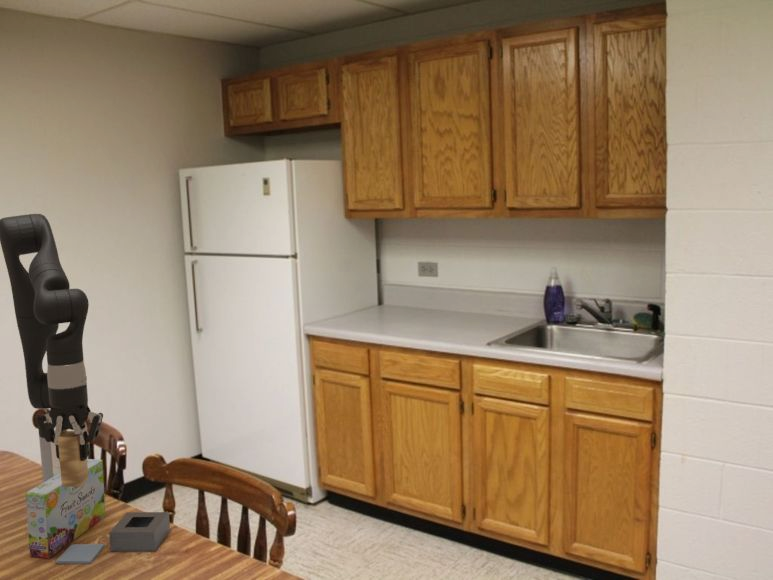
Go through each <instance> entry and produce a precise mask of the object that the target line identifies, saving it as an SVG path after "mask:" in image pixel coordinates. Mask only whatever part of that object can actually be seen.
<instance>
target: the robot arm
mask: <svg viewBox="0 0 773 580" xmlns="http://www.w3.org/2000/svg"><path fill="white" fill-rule="evenodd" d="M0 246H1V251H2V253H3V254H2V255H3V259H4V262H5V265H6V270H7V273H8V278H9V282H10V288H11V294H12V300H13V307H14V313H15V319H16V324H17V325H16V326H17V329H18V334H19V339H20V342H21V348H22V353H23V359H24V367H25V376H26V387H27V395H28V400H29V403H30V405H31V406H32V408H33V409H35V410H36V409H37V410H38V409H39V410H45V409H49V411H48V412H47V413H46V412H45V413H42V414H40V415H39V416H37V417H36V422H37V424H38V437H39V450H40V459H41V460H40V461H41V462H40V463H41V474H42V483H43V482H45V481H47V480H49V479H50V478H52V477H54V474H53V464H52V463H53V462H52V452H51V450H52V449H51V442H52V443H54V444H55V446H56V456H57V458H58V459H59V461H60V458H59V446H58V437H59V436H62V434H63V433H66V432H67V430H68V429H71V430H74V432H75V435H77V436H78V440H79V443H80V445H79V451H80V461H85V460H86V459H88V457H90V454H91V453H90V452H91V451H90V443H91V442H93V441H95V439H97V438H98V436H99V433H100V430H101V429H100V428H101V426H102V421H103V418H104V414H103V412H99V413H96V412H93V411H91V409H90V407H89V405H88V404H89V398H88V397H89V396H88V385H87V384H88V383H87V382H88V381H87V380H88V378H87V372H86V365H85V362H84V359H85V358H84V349H83V337H84V330H85V325H86V321H87V316H88V312H89V306H90V305H89V298H88V296H87V295H86V293H85V292H84V291H83V289H82V290H81V289H79V288H70V282H69V278H68V276H67V274H66V273H65V270H64V269H63V267H62V263H61V262H60V257H59V253H58V248H57V244H56V241H55V237H54V233H53V230H52V227H51V225H50V222H49V220H48V219H47V217H46V216H45V215H44V214H41V213H31V214H30V213H29V214H22V215H14V216H7V217H2V218H0ZM30 254H36V255H35V256H34V257H33V259H32V260H31V262H30V264H29V266H28V267H29V268H28V271H27V269H26V268H25V267H24V265H23V263H22V262H21V259H20V256H24V255H30ZM68 323H69V324H68ZM59 324H68V326H67V327H66V329H65V330H64V331H62V332H58V330H59V326H60V325H59ZM57 332H58V333H57ZM45 356H46V361H47V369H46V370H47V372H44V370H43V361H44V357H45ZM88 418H89V423H90V428H89V431H88V425H87V422H86V421H87V420H88ZM51 420H52V424H51ZM55 427H56V429H55V431H54V428H55Z"/></svg>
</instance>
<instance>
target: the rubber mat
mask: <svg viewBox="0 0 773 580" xmlns="http://www.w3.org/2000/svg"><path fill="white" fill-rule="evenodd" d="M105 547H106V544H105V543H98V544H97V543H92V544H91V543H88V544H87V543H80V544H77V543H73V544H70V546H69V547H67V549H66V550H65V551H64V552H63V553H62V554H61V555H60V556H59V557H58V558H57V559H56V561H55V565H91V564H92V563H93V562H94V560H95V559H96V558H97V556H98V555H99V554H100V553H101V552H102V551H103V550H104V548H105Z"/></svg>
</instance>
